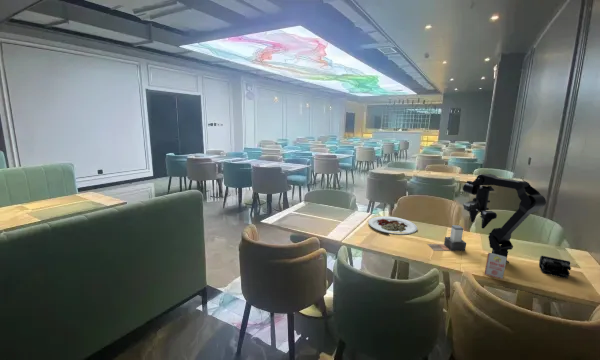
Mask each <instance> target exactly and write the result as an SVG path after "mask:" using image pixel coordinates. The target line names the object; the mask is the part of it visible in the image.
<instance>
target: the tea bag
mask: <svg viewBox="0 0 600 360" xmlns="http://www.w3.org/2000/svg"><path fill="white" fill-rule="evenodd" d="M507 258H508V256H507V257H505V256H501V255H497V254H493V253H492V252H488V253H487V258H486V264H485V270H484V275H485V276H486V275H487V276H489V275H490V277H493V278H496V279H500V280H503V279H504V273H505V269H506V265H507V263H506V259H507Z"/></svg>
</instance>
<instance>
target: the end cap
mask: <svg viewBox="0 0 600 360" xmlns="http://www.w3.org/2000/svg"><path fill="white" fill-rule="evenodd" d="M538 260H539V261H538V263H539V264H538V265H539V266H538V267H539V269H540V271H541V273H542V274H545V275H549V276H554V277H557V278H562V279H566V280H567V279H569V276H570V274H571V273H570V272H569V271H571V270H572V267H571V261H569V260H566V259H565V260H564V259H560V258H555V257H551V256H545V255H541V256H540V257H539V259H538Z"/></svg>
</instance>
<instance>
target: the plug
mask: <svg viewBox="0 0 600 360" xmlns="http://www.w3.org/2000/svg"><path fill="white" fill-rule="evenodd" d="M463 233H464V227H462V226H461V225H459V224H458V225H455V224H454V225H453V224H452V225H451V229H450V236H449V237H450V240H451V241H453V242H461V241H462V240H463V235H464V234H463Z"/></svg>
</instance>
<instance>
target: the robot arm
mask: <svg viewBox="0 0 600 360" xmlns="http://www.w3.org/2000/svg"><path fill="white" fill-rule="evenodd" d="M531 185H532V184H530V183H529V182H528V181H526V180H518V179H510V178H509V179H508V178H502V177H499V176H498V175H497V176H496V175H494V174H492V173H483V174H481V173H480V174H478V175H477V176H476V178H475V179H474V180H473V181H471V180H467V181H466V183H464V185H463V186H462V191H463V192H464V193H467V194H470V195H473V196H475V197H473V198H472V200H469V201H466V202H463V205H462V206H463V210H465V211H466V212H468V213H469V218H470V221H471V222H470V223H474V222H475V220H476V217H477V215H478V212H479V213H480V216H479V217H480V219H481V229H483V230H484V229H485V228H486V226H488V225H489V224H490V222H492V221H493V220H495V219H497V218H498V214H497V213H496V212H495V211H492V210H489V209H490V208H489V207H488V204H489V203H491V200H490V199H489V197H490V192H494V191H495V189H494V188H493V187H492V186H496V187H497V186H498V187H502V188H508V189H513V190H516V194H517V197H518V198H519V200H520V201H519V205H518V209H517V210H516V211H515V212H514V213H513V214H512V215H511V216H510V217H509V219H507V220H506V222H505V223H504V224H503V225H502V226H501V227H496V228H492V230H491V232H489V233H488V237H487V238H488V242H489V243H488V244H489V248H490V249H491V253H493V254H497V255H501V256H505V257H507V258H508V255H509V250H513V248H514V245H513V243H512V242H511V241H510V240H511V238H512V233H514V232H515V230H516V229H517V228H518V227H519V226H520V225H521V224H522V223H523V222H524V221H525V220H526V219H527V218H528V217H529V216H530V215H532V214H533V213H535V212H537V211H539V210H540V209H542V208H544V207H545V206H546V205H547V200H546V198H545V196H544V195H542V194H541V193H540V191H538V190H537V189H536V188H534V187H533V186H531ZM506 264H510V260H507V259H506Z"/></svg>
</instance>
